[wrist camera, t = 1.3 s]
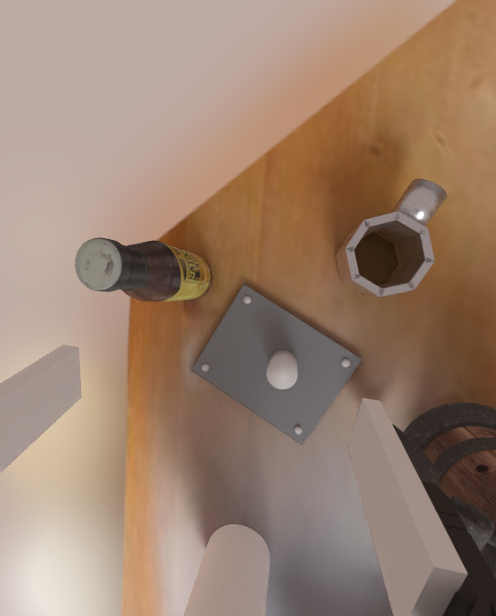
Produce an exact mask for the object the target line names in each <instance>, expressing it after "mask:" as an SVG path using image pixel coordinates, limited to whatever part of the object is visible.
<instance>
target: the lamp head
mask: <svg viewBox="0 0 496 616" xmlns="http://www.w3.org/2000/svg"><path fill="white" fill-rule="evenodd" d="M446 198H447V194H446V192H445V190H444V189H443V188H441V187H440V186H439V185H437V184H435V183H433V182H431V181H428V180H423V179H416V180H413V181H412V182H411V183H410V185H409V186H408V188H407V189H406V191H405V192H404V194H403V195H402V197H401V198H400V200H399V201H398V203H397V204H396V206H395V207H394V208H393V210H392V211H391V213H389V214H385V215H381V216H377V217H373V218H370V219H366V220H363V221H362V222H361V223H360V224H359V225H358V226H357V227H356V228H355V229H354V230H353V231H352V232H350V234H349V235H348V237H347V238H346V240H345V241H344V243H343V244H342V246H341V247H340V249H339V250H338V252H337V253H336V255H335V258H336V262H337V267H338V272H339V276H340V281H342V282H343V283H345V284H346V285H348V286H350V287H351V288H353V289H355V290H356V291H358V292H360V293H361V294H363V295H369V296H376V297H383V296H388V295H393V294H398V293H402V292H407V291H412V290H415V288H416V287H417V286H418V284H419V283H420V281H421V280H422V279H423V277H424V276H425V274H426V273H427V272H428V270H429V269H430V267H431V266H432V265H433V263H434V262H435V260H434V255H433V250H432V245H431V240H430V235H429V230H428V228H427V227H426V226H427V225H428V224H429V222H430V221H431V219H432V218H433V216H434V215H435V214H436V212H437V211H438V209H439V208H440V206H441V205H442V203H443V202H444V201H445V199H446ZM375 233H376V234H377V235H379V236H381V237H382V238H384V239H386V240H387V241H389V242H391V243H393V244H394V247H395V252H396V257H397V262H398V266H397V268H396V269H395V270H394V272H393V273H392V275H391V276H390V278H389V279H388V281H387V282H386V283H384V284H380V285H375V284H373V283H372V282H370V281H368V280H367V279H365V278H363V277H362V276H360V275H359V271H358V266H357V262H356V257H355V252H354V249H355V247H356V246H357V244H358V243H359V241H360V240H361V238H362V237H363V236H367V235H371V234H375Z"/></svg>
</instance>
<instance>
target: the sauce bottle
mask: <svg viewBox="0 0 496 616" xmlns="http://www.w3.org/2000/svg"><path fill="white" fill-rule="evenodd" d="M75 267H76V273H77V275H78V278H79V279H80V281H81V282H82V283H83V284H84V285H86V286H87V287H88V288H89V289H92V290H95V291H107V292H110V291H115V290H118V289H121V290H122V291H124V292H125V293H126V294H127V295H129V296H131V297H132V298H135V299H137V300H140V301H148V302H150V301H154V302H162V301H177V300H191V299H195V298H197V297H200V296H202V295H204V294H205V293H206V292H207V291H208V290H209V288H210V286H211V282H212V273H211V269H210V266H209V265H208V264H207V262H206V261H205V260H204V259H202V258H201V257H200V256H198V255H196V254H194V253H191V252H188V251H185V250H182V249H179V248H176V247H174V246H171V245H168V244H165V243H162V242H159V241H148V242H143V243H139V244H133V245H128V246H124V245H122V244H120V243H119V242H117V241H114V240H110V239H105V238H94V239H91V240H89V241H87V242H85V243H84V244H83V245H82V246H81V247H80V249H79V250H78V252H77V255H76V260H75Z"/></svg>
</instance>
